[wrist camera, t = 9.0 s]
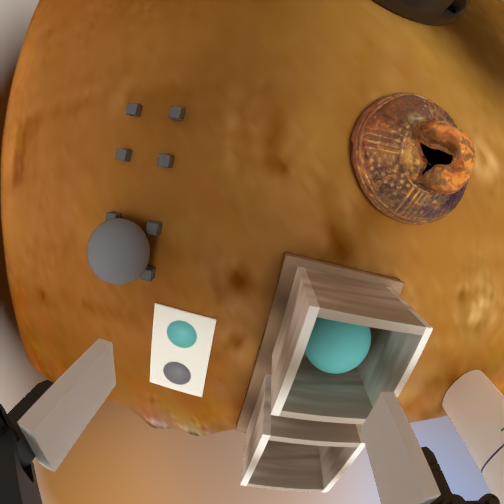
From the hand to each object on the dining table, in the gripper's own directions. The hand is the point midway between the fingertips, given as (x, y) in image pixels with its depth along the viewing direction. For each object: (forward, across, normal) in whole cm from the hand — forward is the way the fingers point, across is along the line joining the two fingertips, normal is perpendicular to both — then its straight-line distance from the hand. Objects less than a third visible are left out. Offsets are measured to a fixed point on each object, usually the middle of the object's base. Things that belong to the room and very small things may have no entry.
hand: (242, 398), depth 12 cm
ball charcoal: (+14, -12, +2) cm, 18 cm away
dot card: (+14, -6, -8) cm, 17 cm away
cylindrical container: (+14, +30, -10) cm, 34 cm away
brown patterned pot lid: (+14, +11, +15) cm, 23 cm away
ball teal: (+12, +7, -1) cm, 14 cm away
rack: (+14, +7, -7) cm, 16 cm away
